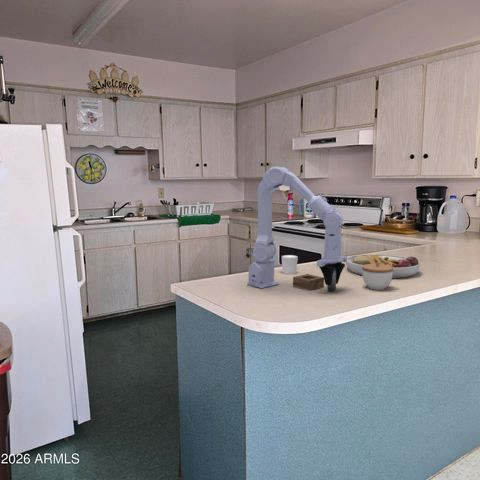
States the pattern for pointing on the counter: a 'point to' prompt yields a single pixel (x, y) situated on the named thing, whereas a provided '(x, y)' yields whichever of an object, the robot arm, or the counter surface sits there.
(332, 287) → the pin
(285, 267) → the shot glass
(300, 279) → the socket block
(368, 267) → the lidded jar
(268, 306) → the counter surface
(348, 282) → the counter surface
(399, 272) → the bowl
